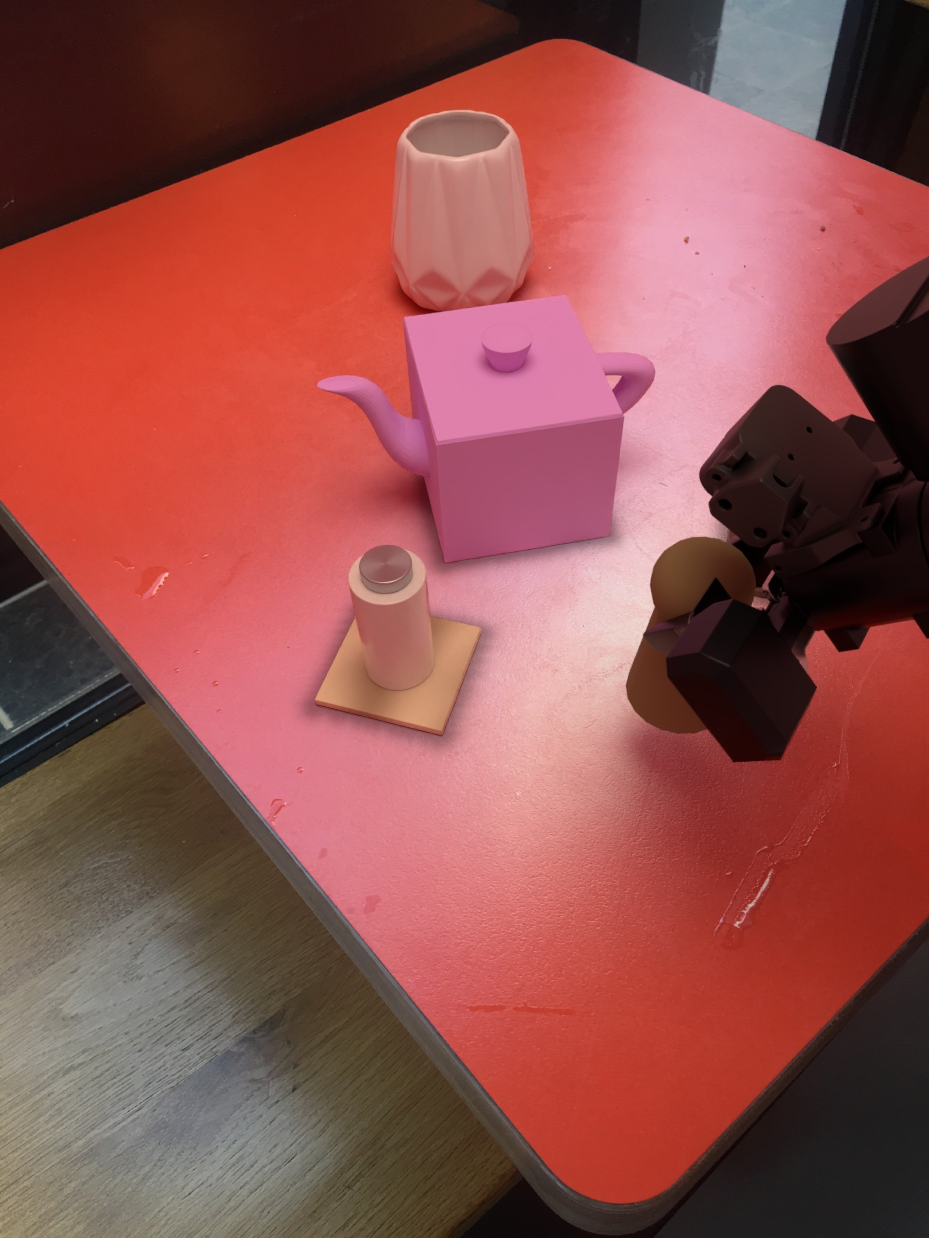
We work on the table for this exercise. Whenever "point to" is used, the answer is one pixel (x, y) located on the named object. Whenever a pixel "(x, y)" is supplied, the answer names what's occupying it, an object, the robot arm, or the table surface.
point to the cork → (675, 594)
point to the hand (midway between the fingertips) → (671, 607)
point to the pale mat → (411, 706)
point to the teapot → (508, 424)
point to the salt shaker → (393, 616)
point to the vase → (460, 211)
